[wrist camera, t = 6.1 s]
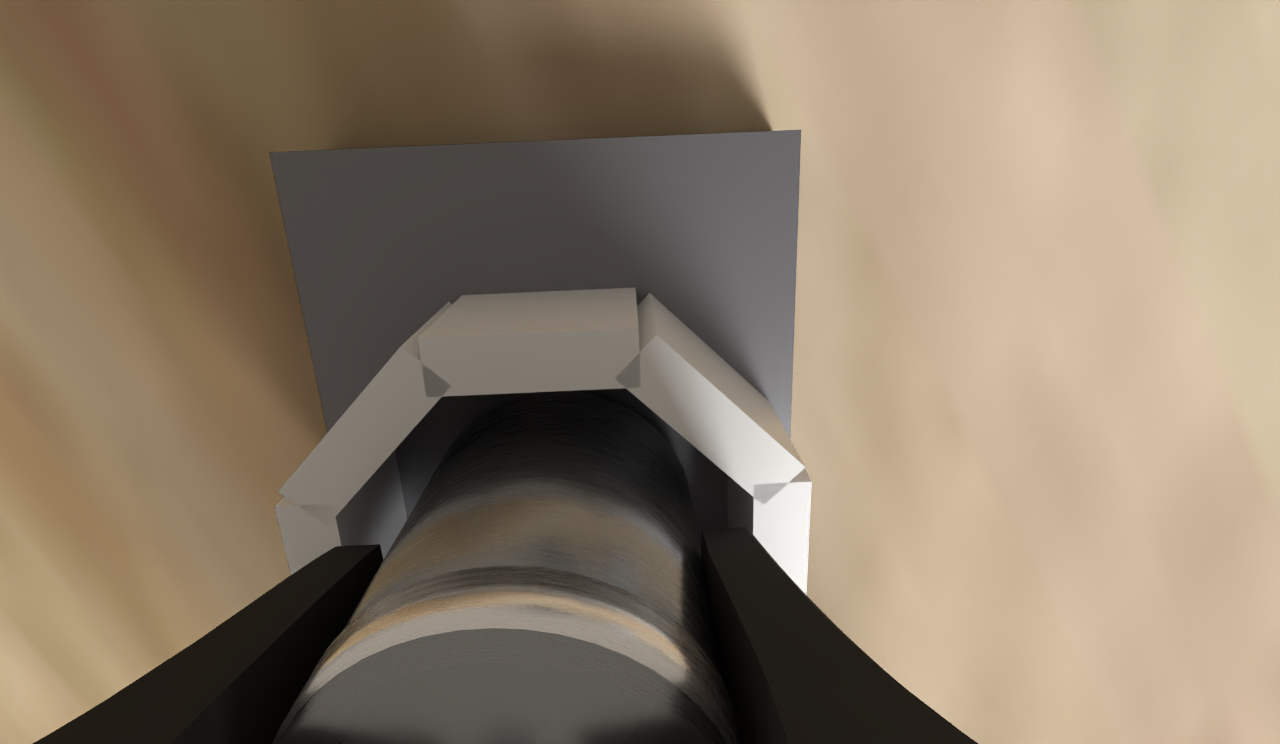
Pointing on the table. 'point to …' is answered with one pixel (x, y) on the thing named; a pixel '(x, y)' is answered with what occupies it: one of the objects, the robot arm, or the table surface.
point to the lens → (533, 597)
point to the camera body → (547, 315)
